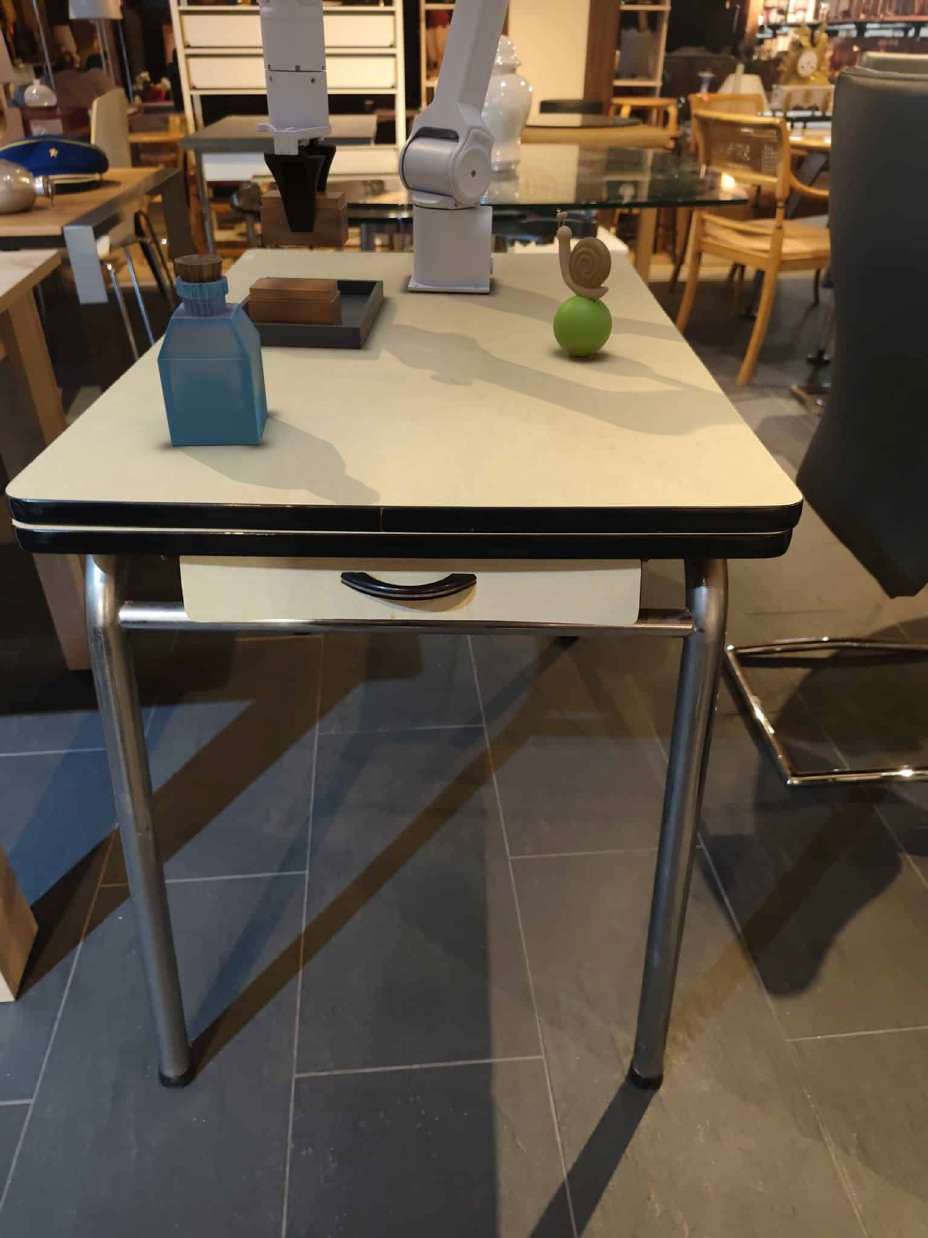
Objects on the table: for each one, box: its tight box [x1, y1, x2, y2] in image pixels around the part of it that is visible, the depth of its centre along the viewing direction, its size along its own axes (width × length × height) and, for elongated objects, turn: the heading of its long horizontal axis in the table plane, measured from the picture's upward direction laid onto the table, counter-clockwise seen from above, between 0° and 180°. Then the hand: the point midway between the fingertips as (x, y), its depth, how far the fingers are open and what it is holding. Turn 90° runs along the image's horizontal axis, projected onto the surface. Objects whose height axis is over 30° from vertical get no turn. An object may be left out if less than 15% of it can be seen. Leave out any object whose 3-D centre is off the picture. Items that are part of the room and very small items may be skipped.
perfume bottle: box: [156, 254, 269, 447], centre depth 63 cm, size 6×6×12 cm
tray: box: [239, 276, 385, 349], centre depth 92 cm, size 13×19×2 cm
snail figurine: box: [552, 211, 613, 357], centre depth 81 cm, size 5×6×12 cm
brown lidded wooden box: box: [259, 189, 350, 248], centre depth 90 cm, size 8×4×4 cm, turn 88°
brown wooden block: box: [248, 277, 342, 325], centre depth 85 cm, size 8×4×4 cm, turn 88°
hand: (306, 227), depth 90 cm, fingers closed on brown lidded wooden box, 4 cm apart
